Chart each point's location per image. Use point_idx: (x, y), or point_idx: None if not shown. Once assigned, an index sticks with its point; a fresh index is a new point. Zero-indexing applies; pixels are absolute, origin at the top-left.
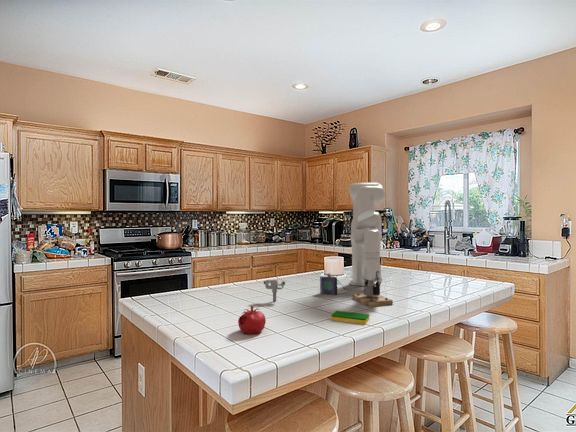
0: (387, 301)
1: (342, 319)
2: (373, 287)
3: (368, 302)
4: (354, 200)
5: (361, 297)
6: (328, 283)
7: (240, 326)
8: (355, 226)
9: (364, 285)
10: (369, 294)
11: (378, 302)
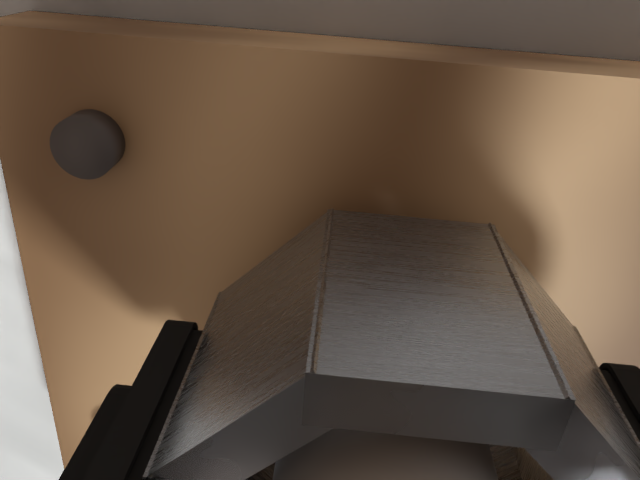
0: (57, 394)
1: None
2: (98, 472)
3: (37, 26)
4: None
5: (472, 123)
6: None
7: None
8: None
9: (550, 418)
10: (274, 270)
11: (28, 235)
